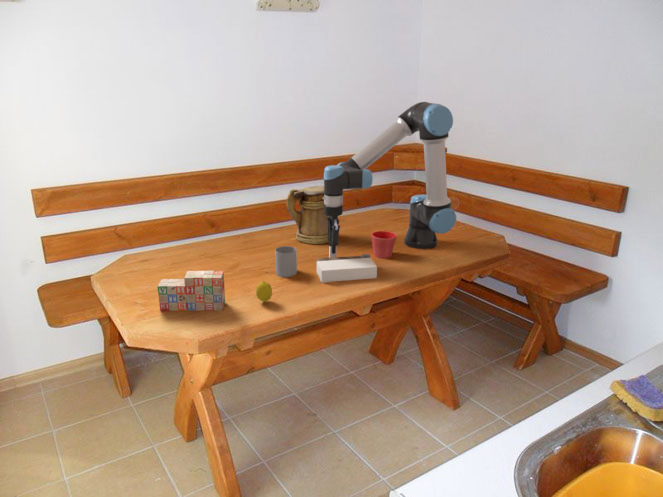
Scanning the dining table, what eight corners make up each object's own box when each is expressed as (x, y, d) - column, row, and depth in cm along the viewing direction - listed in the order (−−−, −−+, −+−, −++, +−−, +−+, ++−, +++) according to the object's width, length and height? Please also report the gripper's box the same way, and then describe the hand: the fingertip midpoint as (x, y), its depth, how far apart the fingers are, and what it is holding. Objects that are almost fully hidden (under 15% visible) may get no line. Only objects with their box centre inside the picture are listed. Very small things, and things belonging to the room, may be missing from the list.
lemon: (257, 299, 191) (256, 278, 188) (272, 298, 191) (272, 278, 188) (256, 305, 186) (255, 284, 183) (272, 305, 186) (271, 284, 183)
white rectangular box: (369, 269, 218) (370, 257, 217) (376, 278, 209) (377, 266, 208) (316, 272, 214) (316, 261, 212) (321, 282, 205) (321, 270, 203)
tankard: (342, 241, 250) (343, 189, 241) (295, 248, 240) (294, 194, 232) (325, 230, 265) (325, 181, 257) (281, 237, 256) (279, 185, 247)
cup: (293, 278, 209) (293, 254, 205) (273, 276, 210) (272, 252, 207) (298, 270, 217) (298, 247, 213) (279, 268, 218) (278, 245, 215)
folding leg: (368, 264, 223) (369, 253, 221) (371, 268, 219) (371, 257, 217) (317, 267, 219) (317, 256, 217) (318, 270, 215) (318, 259, 214)
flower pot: (397, 253, 237) (398, 232, 233) (391, 261, 227) (393, 239, 224) (374, 250, 240) (375, 229, 237) (367, 258, 230) (368, 236, 227)
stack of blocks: (159, 311, 181) (155, 277, 177) (164, 303, 187) (160, 270, 183) (223, 310, 182) (221, 277, 178) (225, 302, 188) (223, 270, 184)
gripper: (320, 201, 219) (320, 254, 227) (327, 209, 207) (327, 266, 215) (338, 200, 221) (337, 253, 229) (346, 208, 209) (345, 264, 217)
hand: (332, 259), depth 222 cm, fingers closed
